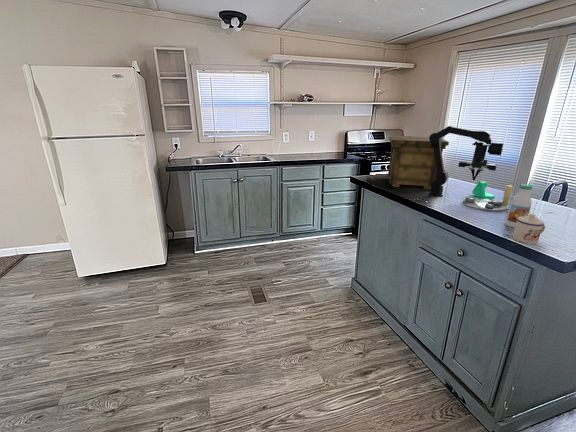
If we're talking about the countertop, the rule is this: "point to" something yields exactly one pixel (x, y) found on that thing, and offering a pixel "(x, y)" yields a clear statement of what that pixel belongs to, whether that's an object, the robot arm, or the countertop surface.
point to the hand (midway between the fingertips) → (473, 180)
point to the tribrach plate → (482, 204)
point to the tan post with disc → (505, 197)
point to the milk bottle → (519, 205)
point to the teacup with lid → (528, 229)
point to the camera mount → (482, 191)
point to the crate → (412, 161)
